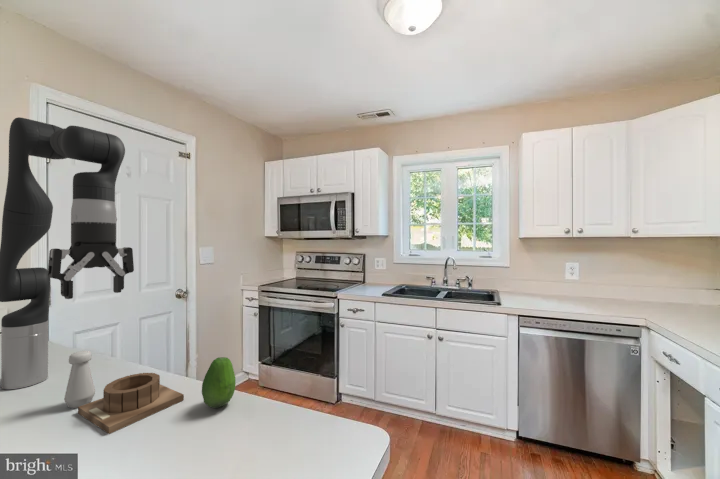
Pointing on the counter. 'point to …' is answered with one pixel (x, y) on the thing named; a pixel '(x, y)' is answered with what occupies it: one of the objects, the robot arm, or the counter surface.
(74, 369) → the salt shaker
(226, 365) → the avocado
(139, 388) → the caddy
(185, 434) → the counter surface
